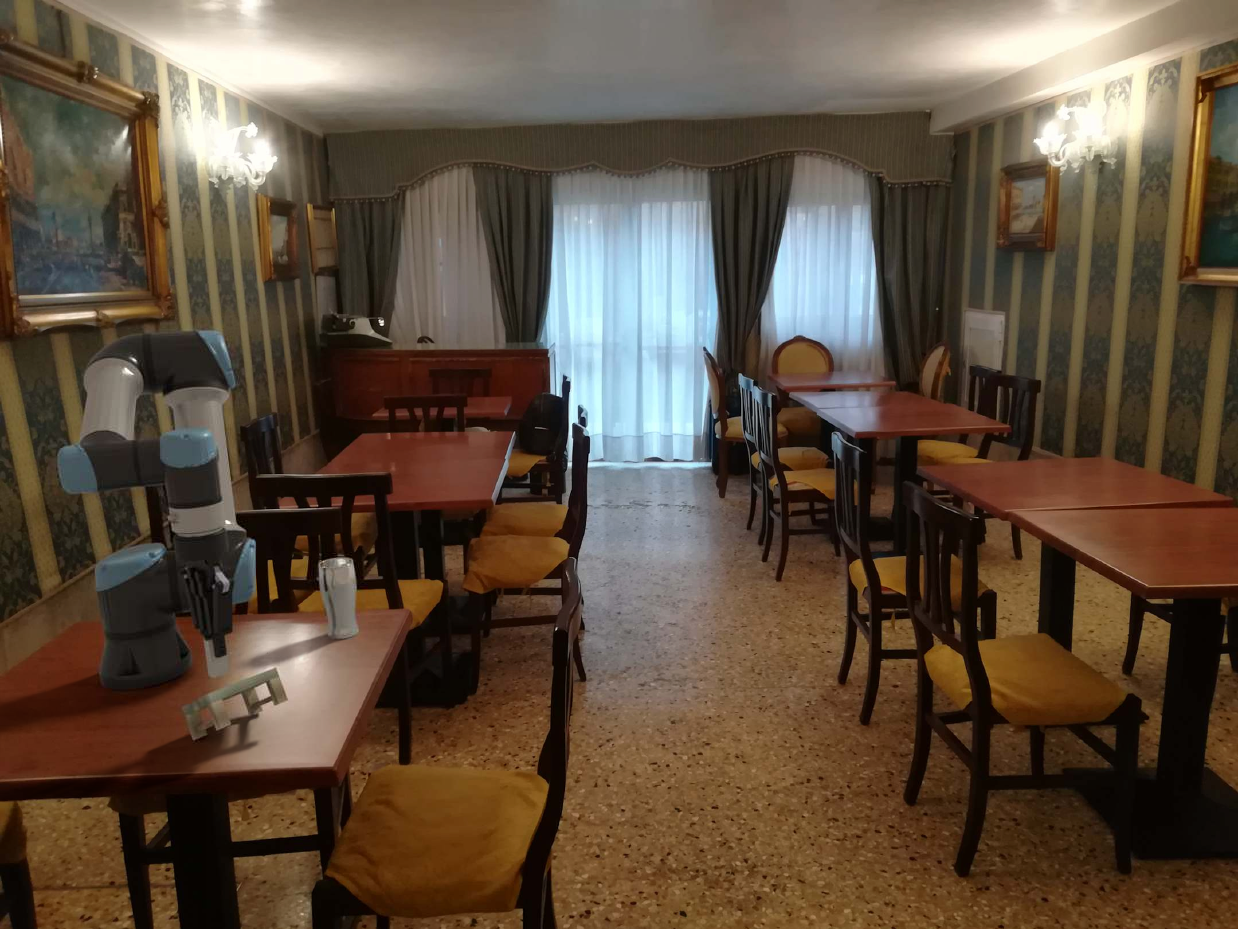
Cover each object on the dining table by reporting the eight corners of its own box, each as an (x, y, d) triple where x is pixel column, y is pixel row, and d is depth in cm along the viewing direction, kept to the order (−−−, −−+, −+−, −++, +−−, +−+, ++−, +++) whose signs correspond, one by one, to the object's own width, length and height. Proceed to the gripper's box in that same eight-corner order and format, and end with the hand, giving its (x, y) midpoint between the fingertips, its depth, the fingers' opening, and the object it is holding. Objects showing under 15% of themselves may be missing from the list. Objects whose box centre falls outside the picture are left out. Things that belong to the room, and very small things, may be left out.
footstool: (181, 707, 139) (208, 693, 132) (247, 681, 147) (275, 667, 140) (193, 740, 138) (220, 728, 131) (258, 712, 147) (288, 700, 140)
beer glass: (341, 643, 174) (333, 570, 171) (317, 636, 178) (309, 564, 175) (368, 630, 180) (361, 560, 177) (345, 624, 184) (338, 555, 180)
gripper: (155, 530, 137) (176, 672, 141) (195, 542, 129) (216, 693, 133) (202, 519, 142) (221, 656, 147) (244, 530, 134) (263, 675, 139)
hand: (219, 674), depth 140 cm, fingers closed
